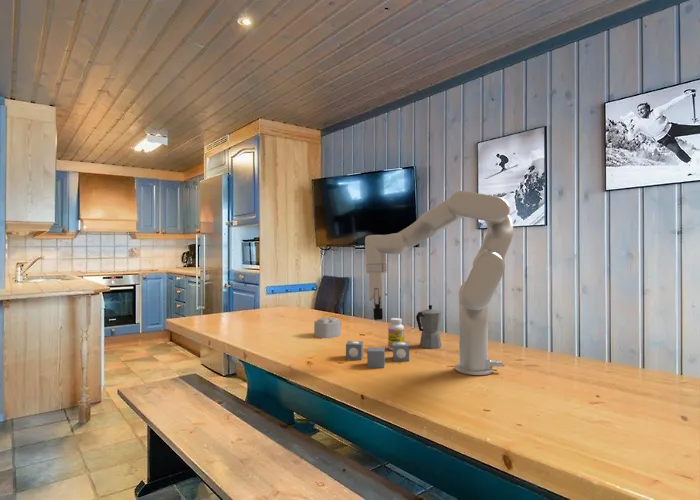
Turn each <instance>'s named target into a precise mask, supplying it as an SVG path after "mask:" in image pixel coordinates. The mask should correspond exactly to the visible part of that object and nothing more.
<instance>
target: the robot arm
mask: <svg viewBox="0 0 700 500" xmlns="http://www.w3.org/2000/svg"><path fill="white" fill-rule="evenodd" d="M510 212H511V206H510V204H509V203H508V201H507V200H506V199H504V198H503V197H501V196H497V195H489V194H484V193H480V192H479V193H478V192H473V191H466V190H457V191H455V192H454V193H452V194H451V196H450V197H449V198H447V199H445V200H444V201H442V202H440V203H439V204H437V205H436V206H433V207H432V208H430V209H429V210H427V211H425V212H424V213H423V214H421V215H420V216H419V217H418V218H417V220H415V221H414V222H413V223H411V224H410V225H409V226H407V227H406V228H403V229H402V230H400V231H398V232H395V233H390V234H369V235H367V236H365V239H364V247H365V249H364V252H365V270H366V271H365V273H366V274H368V295H369V296H368V299H369V302H370V301H372V300H373V310H372V311H373V320H374V321H379V320H380V321H381V320H383V318H384V317H383V312H384V311H383V307H382V305H383V304H382V303H383V302H382V301H383V300H384V296H385V295H384V293H385V274H386V273H388V269H387V266H388V265H387V264H388V263H387V255H401V254H403V253H405V252H407V251H409V250H410V249H412V248H414V247H415V246H417V245H418V244H420V243H422V242H424V241H425V240H427V239H429V238H431V237H434V236H435V235H437V234H439V233H440V232H441V231H444V230H446V228H448V227H450V226H452V225H454V224H455V223H457V222H458V221H460V220H462V219H464V218H470V219H475V220H478V221H479V220H480V221H484V222H485V224H486V228H487V230H486V235H485V237H484V239H483V241H482V243H481V246H480V248H479V250H478V252H477V254H476V255H475V257H474V259H473V261H472V268H471V270H470V272H469V275H468V277H467V279H466V280H465V281H464V282H463V283H462V284H461V285H460V287H459V291H458V305H459V306H458V308H459V309H458V310H459V311H458V312H459V313H458V314H459V319H458V320H459V325H458V326H459V328H458V329H459V333H458V334H459V342H458V343H459V349H458V350H459V354H458V355H459V357H458V358H459V363H457V364H455V365H454V370H455V371H456V372H458V373H461V374H465V375H470V376H486V375H491V374H492V373H493V372H494V371H493V367H496V368H498V367H499V368H501V367H502V368H503V361H502V360H497V359H490V358H489V348H488V347H489V346H488V345H489V343H488V342H489V341H488V340H489V337H488V336H489V330H488V329H489V313H488V312H489V311H488V305H489V304H490V303H491V300H492V299H493V297H494V294H495V293H496V290H497V288H498V286H499V284H500V281H501V279H502V278H503V275H504V272H505V265H506V264H505V261H504V260H505V257H506V255H507V252H508V250H509V247H510V245H511V242H512V240H513V237H514V225H513V221H512V218H511V216H510Z"/></svg>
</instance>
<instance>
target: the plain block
mask: <svg viewBox="0 0 700 500" xmlns="http://www.w3.org/2000/svg"><path fill="white" fill-rule="evenodd" d="M385 348H386V347H377V346H376V347H374V346H372V347H371V346H369V347H368V348H367V352H366V353H367V356H366V358H367V361H366V362H367V363H366V364H367V365H366V366H367V368H368V369H376V368H377V369H384V368H385V363H386V356H385V355H386V353H385V352H386V350H385Z"/></svg>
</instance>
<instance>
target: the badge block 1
mask: <svg viewBox="0 0 700 500" xmlns="http://www.w3.org/2000/svg"><path fill="white" fill-rule="evenodd" d="M363 356H364V341H363V340H347V342H346V343H345V360H346V361H347V360H348V361H362V360H363V358H364V357H363Z"/></svg>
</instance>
